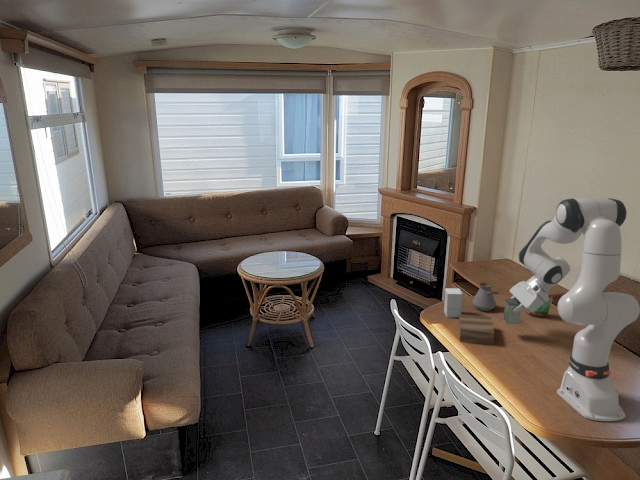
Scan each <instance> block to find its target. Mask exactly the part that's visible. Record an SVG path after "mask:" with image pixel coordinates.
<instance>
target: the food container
mask: <svg viewBox="0 0 640 480" xmlns="http://www.w3.org/2000/svg"><path fill="white" fill-rule="evenodd" d="M553 300H554V298H553V296H551V297H549V300H548V301H547V302H544V303H543V305H542V306H541V307H539V308H538V309H537V310H536V311H534V312H529V311H528V310H527V309H526V314H527V315H529V316H530V317H533V318H537V319H545V318H547V317H548V315H549V311H550V307H551V304H552V303H553Z"/></svg>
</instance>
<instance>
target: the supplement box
mask: <svg viewBox="0 0 640 480" xmlns="http://www.w3.org/2000/svg"><path fill="white" fill-rule="evenodd" d="M463 295H464V294H463V292H462V289H460V288H456V287H454V288H452V287H451V288H450V287H449V288H446V287H445V289H444V304H443V305H444V307H443V313H444V315H445V317H446V318H459V317H460V314H462V312H463V311H462V310H463V308H462V307H463Z"/></svg>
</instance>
